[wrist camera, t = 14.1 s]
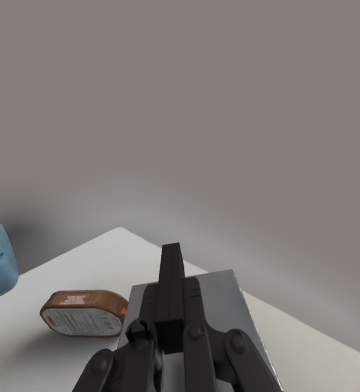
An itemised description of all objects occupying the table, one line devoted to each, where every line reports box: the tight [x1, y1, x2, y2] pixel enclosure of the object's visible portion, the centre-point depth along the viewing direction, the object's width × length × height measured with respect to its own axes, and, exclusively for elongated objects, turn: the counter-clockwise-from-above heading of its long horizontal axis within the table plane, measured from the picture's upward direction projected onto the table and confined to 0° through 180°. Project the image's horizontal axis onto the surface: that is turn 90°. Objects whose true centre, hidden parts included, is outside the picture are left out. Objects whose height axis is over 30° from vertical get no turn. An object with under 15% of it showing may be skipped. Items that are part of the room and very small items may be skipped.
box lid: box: [117, 270, 284, 392], centre depth 13 cm, size 13×12×1 cm
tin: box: [40, 290, 128, 337], centre depth 27 cm, size 15×3×8 cm, turn 83°
